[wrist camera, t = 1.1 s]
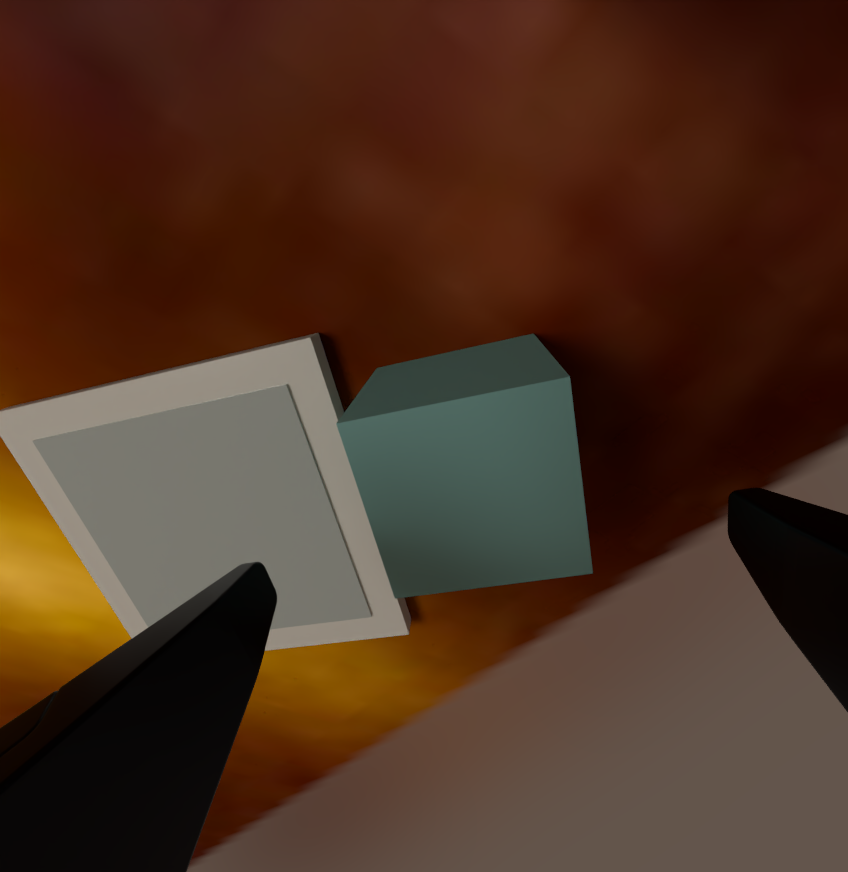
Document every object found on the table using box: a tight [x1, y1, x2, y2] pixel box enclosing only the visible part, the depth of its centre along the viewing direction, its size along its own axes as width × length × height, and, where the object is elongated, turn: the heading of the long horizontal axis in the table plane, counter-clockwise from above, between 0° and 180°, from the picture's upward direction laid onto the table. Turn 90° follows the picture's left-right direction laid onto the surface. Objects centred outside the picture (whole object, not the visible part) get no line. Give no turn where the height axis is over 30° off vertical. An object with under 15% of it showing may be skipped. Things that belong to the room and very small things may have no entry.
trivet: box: [0, 333, 411, 651], centre depth 16 cm, size 12×12×1 cm
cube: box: [336, 334, 593, 599], centre depth 12 cm, size 5×5×5 cm
